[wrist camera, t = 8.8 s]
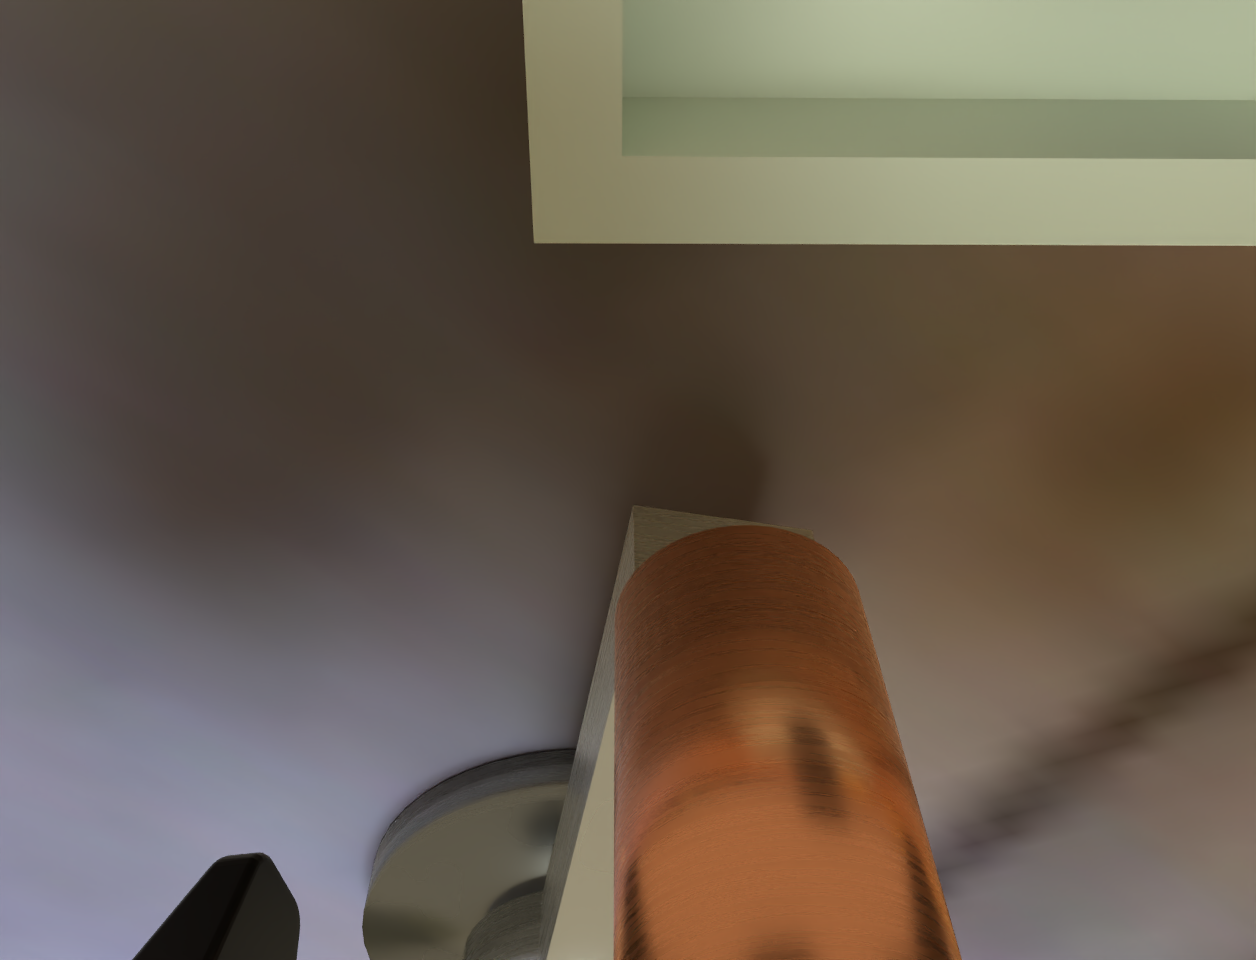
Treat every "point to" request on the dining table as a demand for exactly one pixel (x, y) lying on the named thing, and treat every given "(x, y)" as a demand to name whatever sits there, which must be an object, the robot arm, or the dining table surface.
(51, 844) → the dining table surface
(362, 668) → the dining table surface
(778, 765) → the crank
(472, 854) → the hub plate
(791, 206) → the tray
